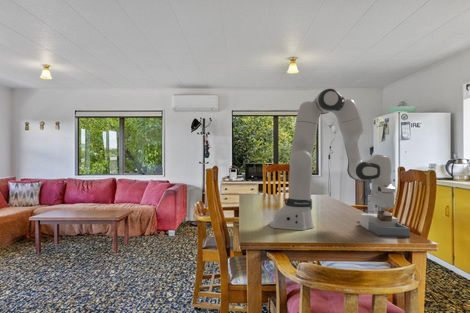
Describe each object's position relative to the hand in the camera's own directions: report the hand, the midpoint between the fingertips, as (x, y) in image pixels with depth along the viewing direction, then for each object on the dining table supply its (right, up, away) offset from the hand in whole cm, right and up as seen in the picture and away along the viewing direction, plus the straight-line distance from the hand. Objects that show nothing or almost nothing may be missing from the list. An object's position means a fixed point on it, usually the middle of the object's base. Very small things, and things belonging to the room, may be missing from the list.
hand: (380, 214), depth 157 cm
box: (-1, -7, -9) cm, 11 cm away
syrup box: (+7, -8, +23) cm, 25 cm away
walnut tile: (0, -1, -4) cm, 4 cm away
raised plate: (0, -7, +3) cm, 8 cm away
